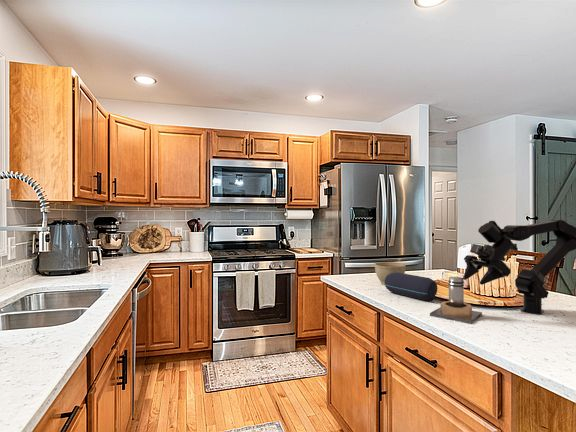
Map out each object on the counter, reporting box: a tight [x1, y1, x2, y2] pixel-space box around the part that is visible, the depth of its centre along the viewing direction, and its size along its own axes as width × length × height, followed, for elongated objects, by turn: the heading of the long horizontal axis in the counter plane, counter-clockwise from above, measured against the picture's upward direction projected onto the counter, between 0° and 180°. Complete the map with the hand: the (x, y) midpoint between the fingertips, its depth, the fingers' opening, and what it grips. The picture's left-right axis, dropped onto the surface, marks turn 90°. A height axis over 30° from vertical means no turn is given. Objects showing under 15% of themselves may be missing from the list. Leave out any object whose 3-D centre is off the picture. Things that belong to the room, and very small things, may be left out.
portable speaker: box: [384, 272, 438, 302], centre depth 159 cm, size 25×10×10 cm, turn 32°
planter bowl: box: [374, 261, 407, 286], centre depth 187 cm, size 16×16×11 cm
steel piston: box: [447, 276, 465, 307], centre depth 130 cm, size 5×5×13 cm
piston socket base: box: [429, 300, 483, 324], centre depth 130 cm, size 14×14×4 cm
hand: (471, 281), depth 130 cm, fingers open, 9 cm apart
